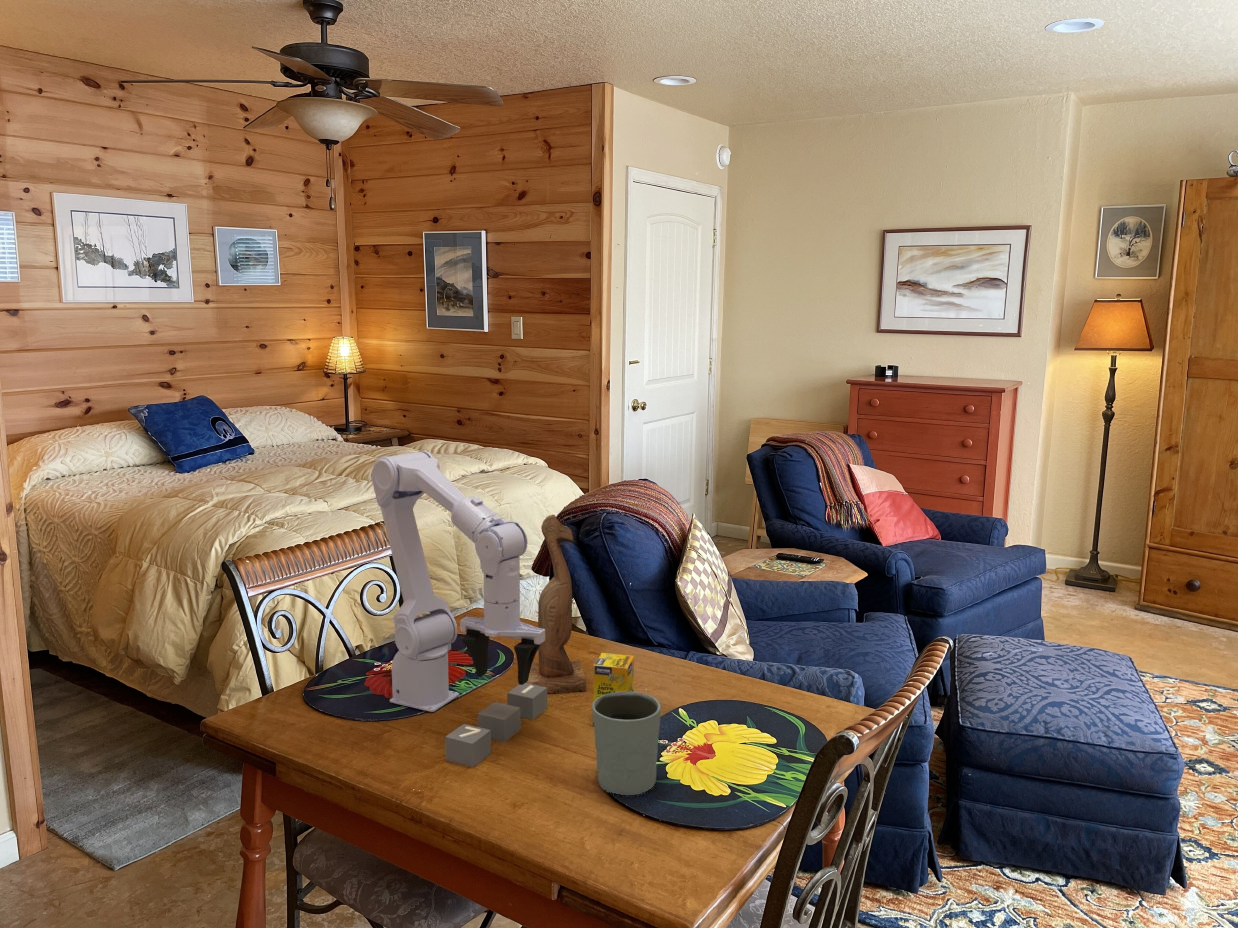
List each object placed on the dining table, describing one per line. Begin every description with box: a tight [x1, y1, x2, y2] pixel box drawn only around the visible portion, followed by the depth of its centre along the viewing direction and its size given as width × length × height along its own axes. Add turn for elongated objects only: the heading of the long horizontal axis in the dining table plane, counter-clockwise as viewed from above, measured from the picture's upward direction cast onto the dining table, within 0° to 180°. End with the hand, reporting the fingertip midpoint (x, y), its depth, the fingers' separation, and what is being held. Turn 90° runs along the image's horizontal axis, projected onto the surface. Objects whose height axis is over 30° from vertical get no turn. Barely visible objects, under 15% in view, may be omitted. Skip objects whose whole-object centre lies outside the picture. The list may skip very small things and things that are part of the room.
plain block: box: [477, 701, 522, 743], centre depth 150 cm, size 5×5×4 cm
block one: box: [506, 683, 548, 721], centre depth 158 cm, size 5×5×4 cm
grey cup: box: [591, 691, 662, 795], centre depth 135 cm, size 10×10×12 cm
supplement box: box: [592, 652, 635, 728], centre depth 154 cm, size 6×6×11 cm
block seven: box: [444, 723, 492, 768], centre depth 142 cm, size 5×5×4 cm
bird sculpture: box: [526, 514, 587, 695], centre depth 169 cm, size 11×12×32 cm
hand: (502, 678), depth 149 cm, fingers open, 7 cm apart
